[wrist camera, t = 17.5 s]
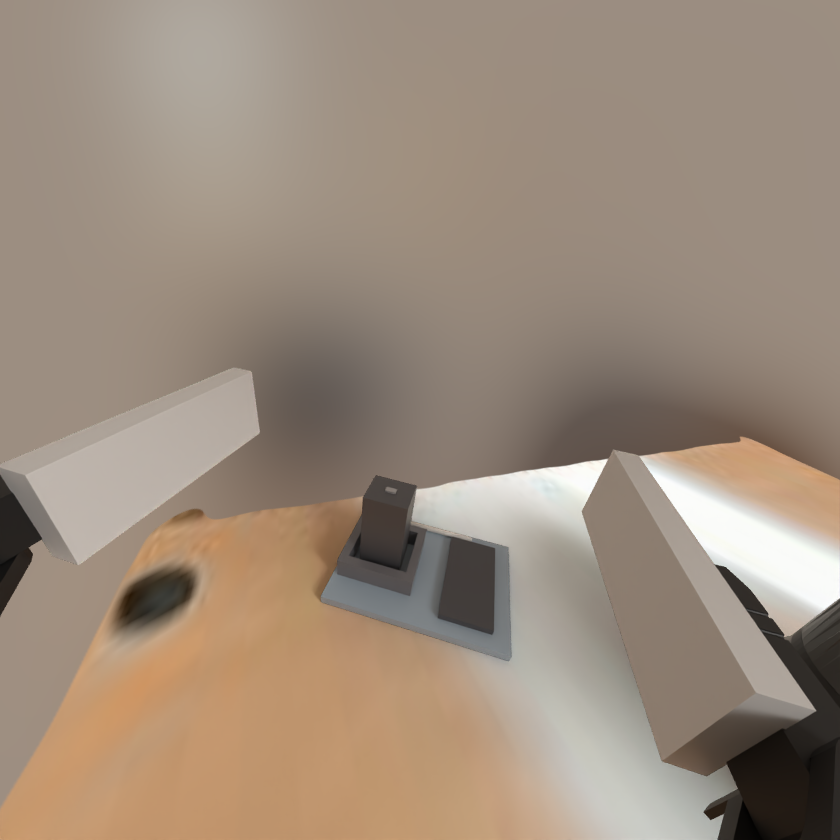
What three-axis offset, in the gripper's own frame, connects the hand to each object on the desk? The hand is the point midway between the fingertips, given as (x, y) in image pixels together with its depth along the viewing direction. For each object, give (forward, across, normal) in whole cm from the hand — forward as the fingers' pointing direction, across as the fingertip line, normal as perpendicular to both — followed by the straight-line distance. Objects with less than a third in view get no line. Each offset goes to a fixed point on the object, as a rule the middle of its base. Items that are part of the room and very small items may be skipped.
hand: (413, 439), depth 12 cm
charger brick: (+17, -4, -29) cm, 34 cm away
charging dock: (+17, +1, -30) cm, 34 cm away
